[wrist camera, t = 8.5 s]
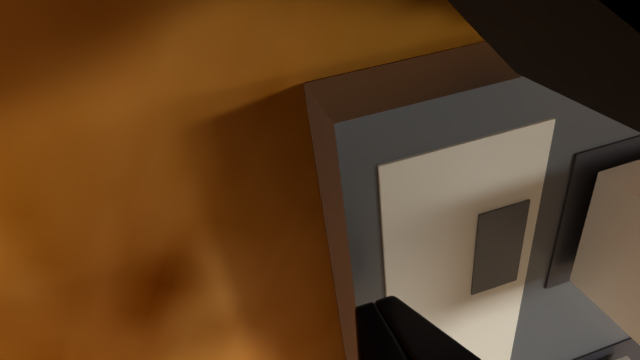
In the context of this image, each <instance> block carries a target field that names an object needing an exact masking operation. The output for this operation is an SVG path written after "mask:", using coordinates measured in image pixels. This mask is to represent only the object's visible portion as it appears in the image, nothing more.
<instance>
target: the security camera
mask: <svg viewBox="0 0 640 360" xmlns="http://www.w3.org/2000/svg"><path fill="white" fill-rule="evenodd" d="M447 1H448V2H449V3H450V4H451V5H452V6H453V7H454V8H455V9H456V10H457V11H458V12H459V13H460V14H461V15H462V16H463V18H464V19H465V20H466V21H467V22H468V23H469V24H470V25H471V26H472V27H473V28H474V29H475V30H476V31H477V32H478V33H479V34H480V36H481V37H482V38H483V39H484V40H485V41H486V42H487V43H488V44H489V45H490V46H491V47H492V48H493V49H494V50H495V51H496V53H497V54H498V55H499V56H500V57H501V58H502V59H503V60H504V61H505V62H506V63H507V64H508V65H509V66H510V67H511V68H512V70H513V71H514V72H515V73H517V74H519V75H521V76H523V77H525V78H527V79H529V80H531V81H534V82H536V83H538V84H540V85H542V86H544V87H546V88H548V89H550V90H552V91H554V92H557V93H559V94H561V95H563V96H565V97H567V98H569V99H571V100H573V101H575V102H577V103H579V104H582V105H584V106H586V107H588V108H590V109H592V110H594V111H596V112H598V113H600V114H602V115H604V116H607V117H609V118H611V119H613V120H615V121H617V122H619V123H621V124H623V125H625V126H627V127H630V128H632V129H634V130H636V131H638V132H640V0H447Z"/></svg>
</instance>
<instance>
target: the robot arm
mask: <svg viewBox="0 0 640 360" xmlns="http://www.w3.org/2000/svg"><path fill="white" fill-rule="evenodd" d="M355 326H356V340H357V355H358V360H481V359H480V358H479V357H477V356H476V355H475V354H473V353H472V352H470V351H469V350H468V349H466V348H465V347H464V346H462V345H461V344H460V343H458V342H457V341H456V340H454V339H453V338H452V337H450V336H449V335H447V334H446V333H445V332H443V331H442V330H441V329H439V328H438V327H437V326H435V325H434V324H433V323H431V322H430V321H428V320H427V319H426V318H424V317H423V316H422V315H420V314H419V313H418V312H416V311H415V310H414V309H412V308H411V307H409V306H408V305H407V304H405V303H404V302H403V301H401V300H400V299H399V298H397V297H396V296H388V297H385V298H381V299H378V300H376V301H375V303H373V302H369V303H366V304H363V305H360V306H357V307H356V308H355Z"/></svg>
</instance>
